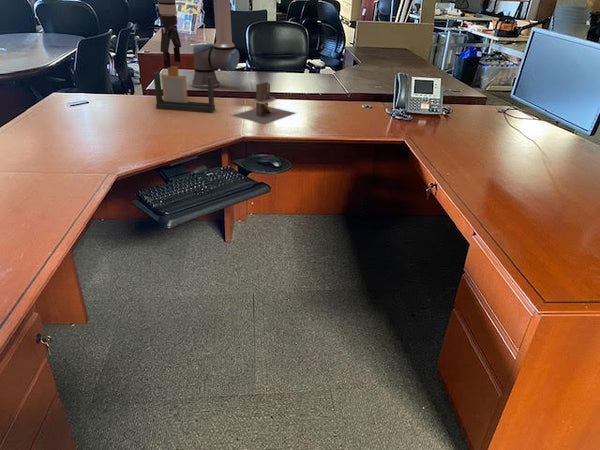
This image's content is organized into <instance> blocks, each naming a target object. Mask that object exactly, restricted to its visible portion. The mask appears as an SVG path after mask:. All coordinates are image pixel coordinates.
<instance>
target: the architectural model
mask: <svg viewBox="0 0 600 450" xmlns="http://www.w3.org/2000/svg"><path fill="white" fill-rule="evenodd" d="M255 92H256V93H255V95H256V97H255V99H253V101H254V102H255V103H256V104H255V106H256V107H255V108H253V109H250V110H246V111H243V112H239V113H237V114H233V115H232V116H233V117H237V118H240V119H244V120H248V121H252V122H255V123H256V122H257V123H260V124H264V125H265V124H268V123H271V122H275V121H277V120H280V119H283V118H285V117H288V116H291V115H294V114H295V112H293V111H288V110H285V109H280V108H275V107H271V106H269V103H272V102H274V101H277V100H276V99H277V98H276V97H274V96H271V83H269V81H265V82H261V83H257V84H256V85H255Z"/></svg>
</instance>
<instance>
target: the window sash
mask: <svg viewBox="0 0 600 450" xmlns="http://www.w3.org/2000/svg"><path fill="white" fill-rule="evenodd" d="M178 75H179V66H177V65H176V66H175V65H171V67H167V74H160V79H161V88H162V98H163V100H164V101H169V102H182V103H188V102H189V99H188V87H187V76H186V75H180V76H178Z"/></svg>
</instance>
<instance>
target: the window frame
mask: <svg viewBox="0 0 600 450" xmlns="http://www.w3.org/2000/svg"><path fill="white" fill-rule="evenodd" d="M152 75H153V82H154V92H155V100H156V101H155V102H156V103H155V108H156V110H166V111H168V110H169V111H180V112H194V113H208V114H212V113H213V112H215V110H216V105H215V95H214V88H213V76H209V77H207V79H208V88H207V95H208V97H207V99H208V102H199V101H188V103H182V102H169V101H164V99H163V90H162V81H161V73H160V71H156V72H154V73H153V74H152Z"/></svg>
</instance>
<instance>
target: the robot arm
mask: <svg viewBox="0 0 600 450" xmlns="http://www.w3.org/2000/svg"><path fill="white" fill-rule="evenodd" d="M157 3H158V4H157V5H158V6H157V9H158V14H159V24H160V25H162V26H163V27H161V28H160V30H161V31H160V33H161V36H160V53H162V56H163V66H164V68H168V67H171V66H172V65H171V55H170V51H169V50H170V45H171V42H172V45H173V48H172V49H173V58H174V63H181V50H180V48H182V43H181V39H180V35H179V32H178V16H177V13H178V12H177V2H176V0H157ZM213 14H214V27H215V39H216V40H215V43H203V44H202V43H201V44H196V45H194V46H193V49H192V50H193V51H192V55H193V67H194V74H193V79H192V82H191V83H192V85H191V86H192V87H194V88H197V89H208V79H207V77H209V76H213V89H215V88H218V87H219V85H220V82H219V81H218V78H217V74H216V70H223V71H231V72H232V71H235V70H236V69H237V67H238V66H239V62H240V51H239V50H238V49H236V45H235V43H234V42H233V41H232V40H233V36H232V35H233V34H232V18H231V17H232V16H231V0H213Z"/></svg>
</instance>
